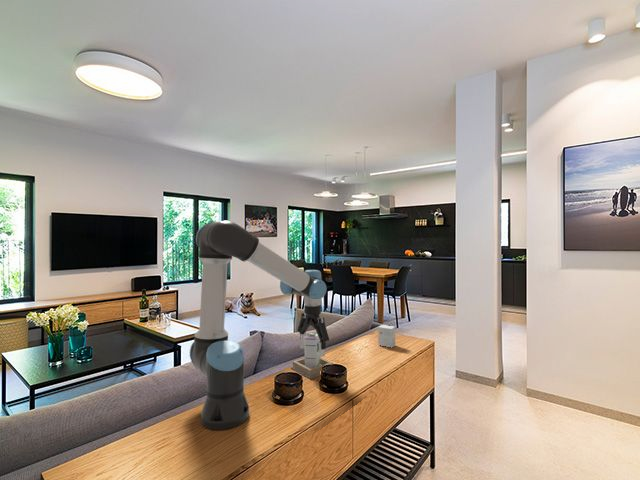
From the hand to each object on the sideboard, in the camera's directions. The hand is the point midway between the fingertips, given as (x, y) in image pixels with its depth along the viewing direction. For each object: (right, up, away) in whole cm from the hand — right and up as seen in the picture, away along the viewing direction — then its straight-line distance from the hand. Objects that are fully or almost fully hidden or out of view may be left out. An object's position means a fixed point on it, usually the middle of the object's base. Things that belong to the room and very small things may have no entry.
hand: (312, 352), depth 145 cm
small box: (+40, -8, +32) cm, 52 cm away
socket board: (0, -8, 0) cm, 8 cm away
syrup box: (0, -7, 0) cm, 7 cm away
